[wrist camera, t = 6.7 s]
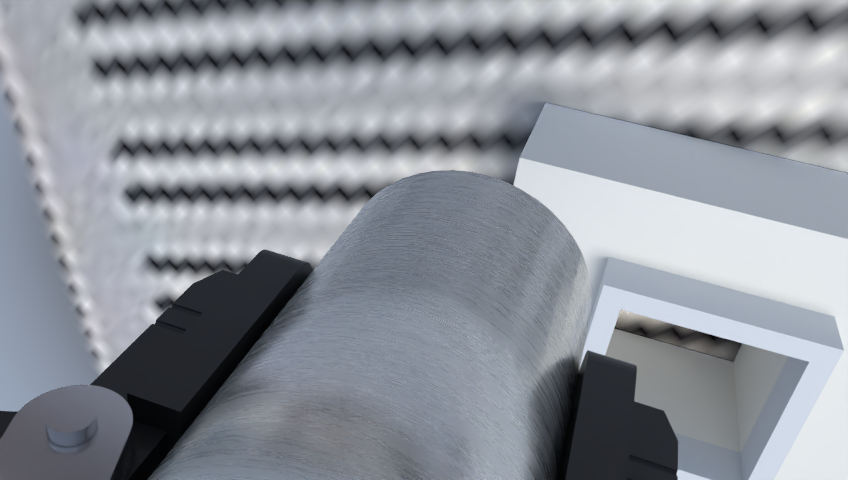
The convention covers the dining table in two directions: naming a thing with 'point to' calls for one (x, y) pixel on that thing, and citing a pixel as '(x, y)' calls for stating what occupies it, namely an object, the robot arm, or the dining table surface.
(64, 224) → the dining table surface
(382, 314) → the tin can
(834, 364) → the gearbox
